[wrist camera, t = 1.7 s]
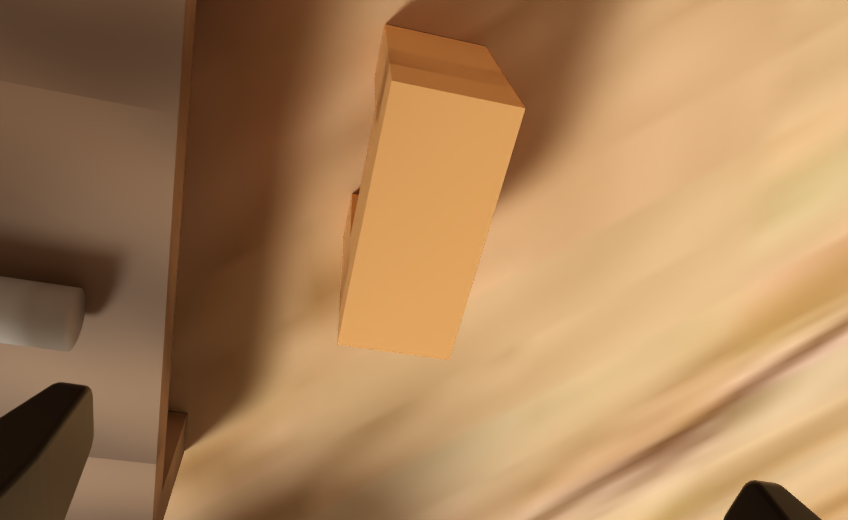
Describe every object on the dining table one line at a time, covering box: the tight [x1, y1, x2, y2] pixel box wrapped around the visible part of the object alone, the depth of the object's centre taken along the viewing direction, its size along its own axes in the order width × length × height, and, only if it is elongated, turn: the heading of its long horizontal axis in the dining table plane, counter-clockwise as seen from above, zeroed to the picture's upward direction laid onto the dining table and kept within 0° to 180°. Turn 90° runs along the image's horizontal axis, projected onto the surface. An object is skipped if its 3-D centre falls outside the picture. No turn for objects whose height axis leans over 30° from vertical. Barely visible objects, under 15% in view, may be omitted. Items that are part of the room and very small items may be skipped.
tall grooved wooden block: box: [337, 24, 526, 360], centre depth 19 cm, size 7×3×6 cm, turn 167°
